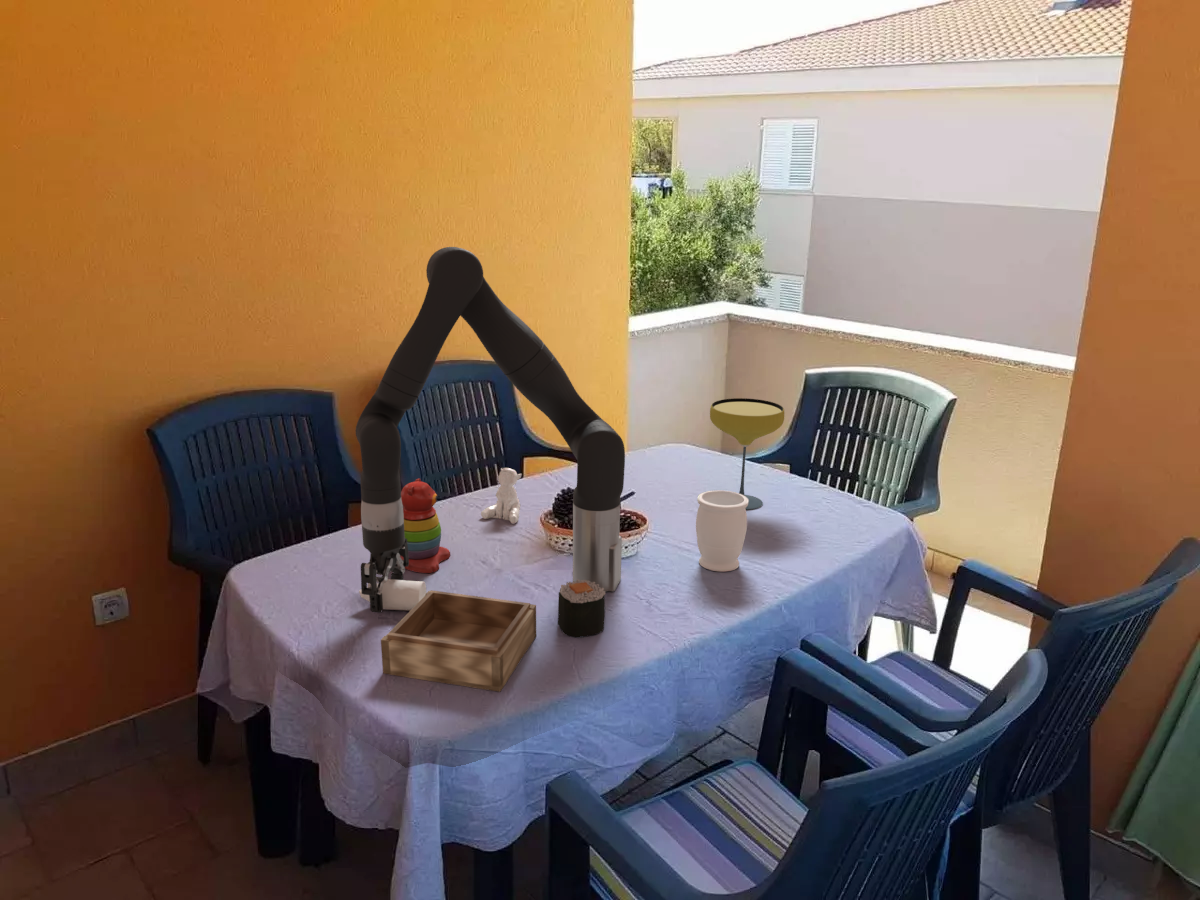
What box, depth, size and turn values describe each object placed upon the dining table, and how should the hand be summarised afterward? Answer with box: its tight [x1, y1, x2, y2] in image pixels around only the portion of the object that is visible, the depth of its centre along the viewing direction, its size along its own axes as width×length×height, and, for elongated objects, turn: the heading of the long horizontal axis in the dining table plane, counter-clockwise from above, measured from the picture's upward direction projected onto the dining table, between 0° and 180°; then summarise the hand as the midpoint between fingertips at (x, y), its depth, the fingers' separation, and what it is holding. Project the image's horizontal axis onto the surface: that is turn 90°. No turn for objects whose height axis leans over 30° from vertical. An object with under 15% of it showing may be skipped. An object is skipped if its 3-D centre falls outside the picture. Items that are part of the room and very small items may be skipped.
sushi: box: [557, 579, 606, 638], centre depth 160 cm, size 8×8×8 cm
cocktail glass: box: [709, 397, 785, 511], centre depth 220 cm, size 18×18×25 cm
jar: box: [695, 489, 749, 573], centre depth 186 cm, size 11×10×15 cm
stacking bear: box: [400, 478, 451, 574], centre depth 185 cm, size 11×10×18 cm
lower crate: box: [380, 590, 537, 693], centre depth 150 cm, size 20×18×6 cm
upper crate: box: [386, 590, 531, 654], centre depth 150 cm, size 19×17×6 cm
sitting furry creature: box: [480, 467, 522, 525], centre depth 211 cm, size 10×9×12 cm
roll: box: [358, 578, 427, 612], centre depth 167 cm, size 6×12×6 cm, turn 87°
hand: (387, 601), depth 167 cm, fingers open, 8 cm apart
